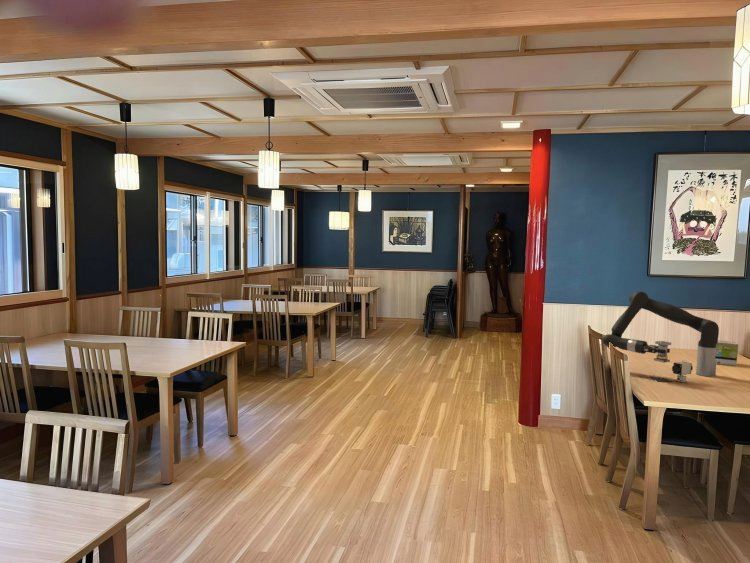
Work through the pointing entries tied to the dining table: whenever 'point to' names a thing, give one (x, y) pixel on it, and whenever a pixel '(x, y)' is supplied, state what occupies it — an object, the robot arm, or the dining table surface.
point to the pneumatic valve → (682, 370)
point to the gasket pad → (660, 379)
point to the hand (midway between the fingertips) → (667, 351)
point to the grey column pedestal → (661, 356)
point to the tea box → (726, 352)
